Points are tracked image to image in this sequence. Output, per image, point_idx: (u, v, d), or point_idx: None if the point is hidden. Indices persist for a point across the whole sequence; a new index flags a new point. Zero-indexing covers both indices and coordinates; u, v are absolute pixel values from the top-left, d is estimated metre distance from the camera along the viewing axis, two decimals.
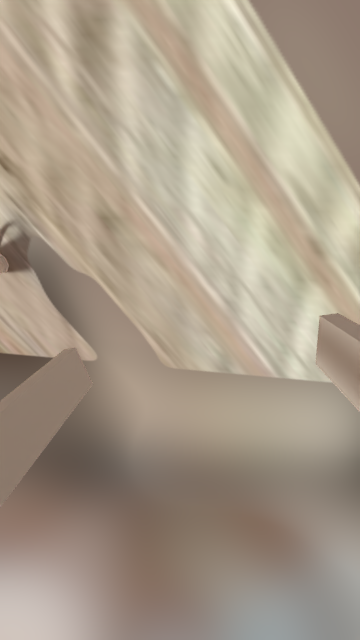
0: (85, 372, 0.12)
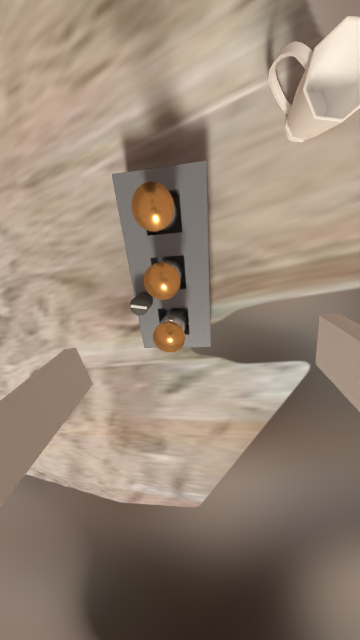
0: (85, 372, 0.12)
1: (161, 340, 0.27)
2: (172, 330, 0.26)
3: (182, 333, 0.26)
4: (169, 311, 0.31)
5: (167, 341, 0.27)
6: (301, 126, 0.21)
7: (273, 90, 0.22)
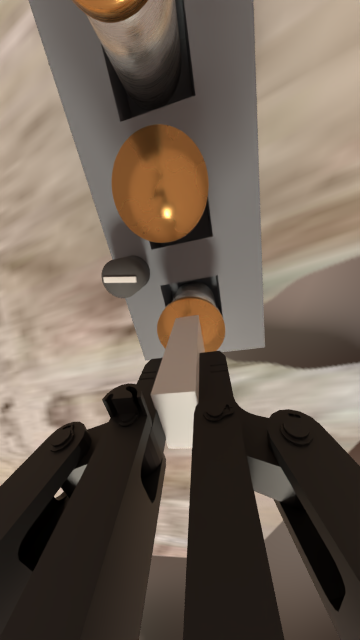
0: None
1: None
2: (197, 313, 0.12)
3: (219, 317, 0.12)
4: (183, 286, 0.17)
5: None
6: None
7: None
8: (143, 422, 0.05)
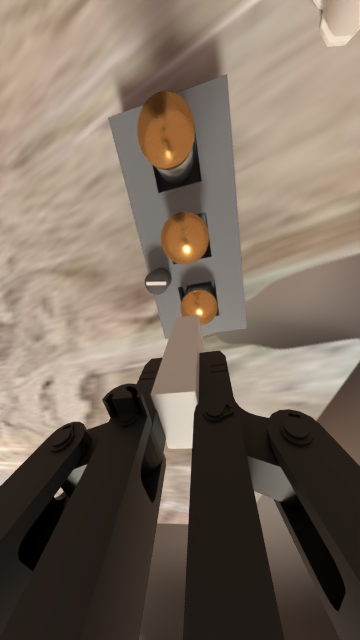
0: None
1: (190, 312, 0.23)
2: (202, 298, 0.23)
3: (214, 300, 0.23)
4: (193, 284, 0.28)
5: (197, 312, 0.23)
6: (355, 1, 0.15)
7: None
8: (143, 422, 0.05)
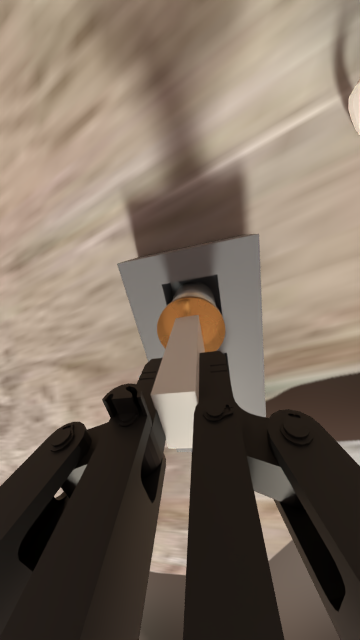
0: None
1: None
2: None
3: None
4: None
5: None
6: None
7: (352, 111, 0.14)
8: (143, 422, 0.05)
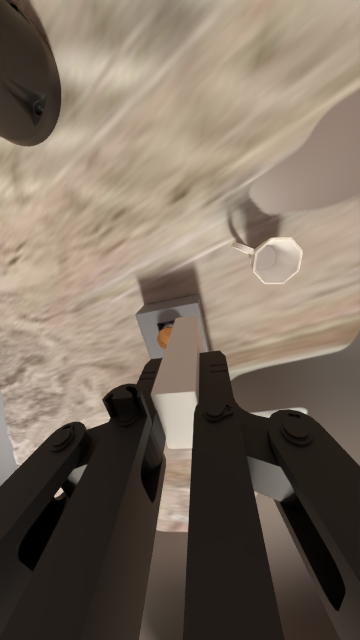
0: None
1: None
2: None
3: None
4: None
5: None
6: None
7: None
8: (143, 422, 0.05)
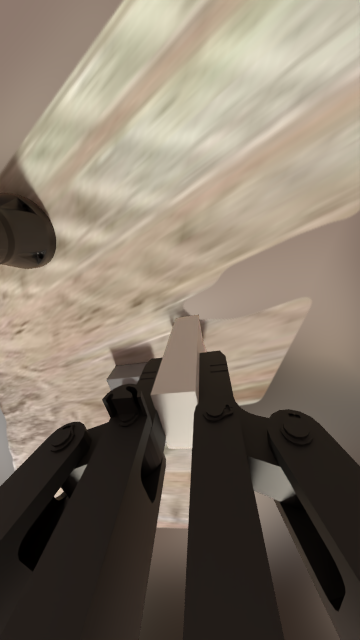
0: None
1: None
2: None
3: None
4: None
5: None
6: None
7: None
8: (143, 422, 0.05)
